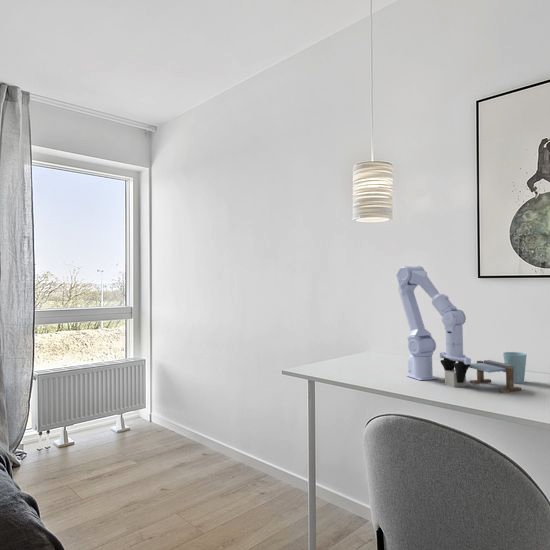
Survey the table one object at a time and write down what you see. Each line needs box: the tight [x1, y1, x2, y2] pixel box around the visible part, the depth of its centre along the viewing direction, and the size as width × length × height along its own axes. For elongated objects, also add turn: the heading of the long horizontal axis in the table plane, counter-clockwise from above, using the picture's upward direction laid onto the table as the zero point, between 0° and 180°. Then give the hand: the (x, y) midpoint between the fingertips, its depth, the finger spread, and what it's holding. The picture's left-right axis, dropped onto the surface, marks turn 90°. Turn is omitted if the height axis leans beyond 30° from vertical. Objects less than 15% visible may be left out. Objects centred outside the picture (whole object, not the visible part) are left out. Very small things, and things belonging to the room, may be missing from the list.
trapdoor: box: [468, 359, 514, 373], centre depth 161 cm, size 12×10×2 cm
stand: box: [469, 360, 523, 393], centre depth 161 cm, size 16×8×8 cm, turn 16°
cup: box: [502, 351, 527, 384], centre depth 167 cm, size 8×8×10 cm
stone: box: [444, 369, 467, 388], centre depth 165 cm, size 5×5×5 cm
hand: (455, 380), depth 165 cm, fingers closed on stone, 5 cm apart
